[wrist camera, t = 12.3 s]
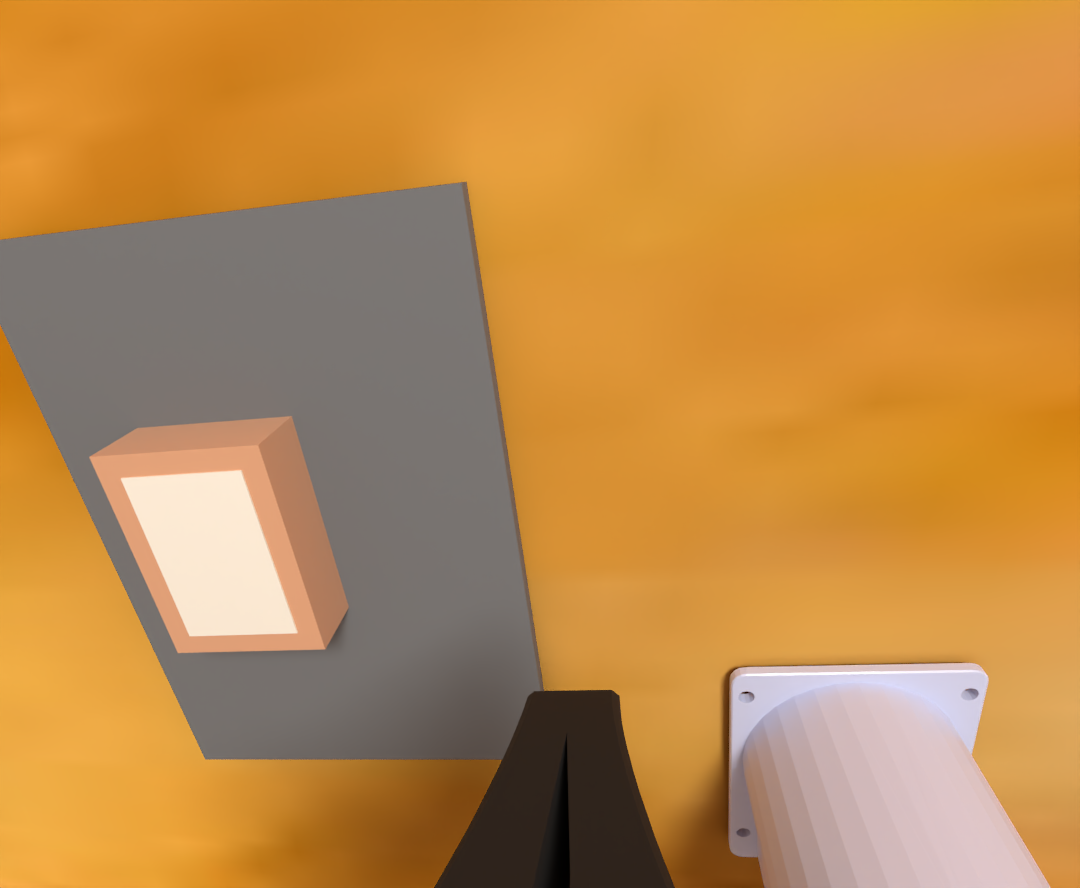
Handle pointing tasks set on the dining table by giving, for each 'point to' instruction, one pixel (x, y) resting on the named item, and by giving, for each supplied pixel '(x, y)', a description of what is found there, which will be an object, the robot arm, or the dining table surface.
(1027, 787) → the dining table surface
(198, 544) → the tile
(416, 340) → the mat
